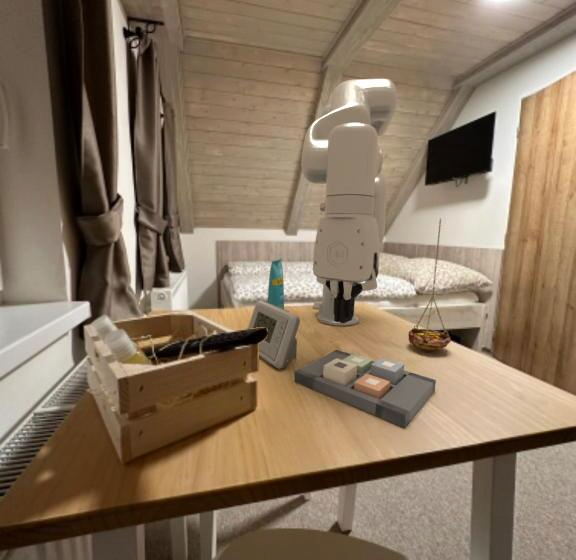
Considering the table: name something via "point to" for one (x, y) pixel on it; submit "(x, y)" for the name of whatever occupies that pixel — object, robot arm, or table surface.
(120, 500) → the table surface
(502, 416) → the table surface
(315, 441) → the table surface
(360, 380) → the key terracotta
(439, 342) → the bird feeder
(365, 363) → the key sage
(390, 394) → the keypad frame
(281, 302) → the tube
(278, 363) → the digital clock
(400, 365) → the key slate
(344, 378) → the key ivory
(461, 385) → the table surface
